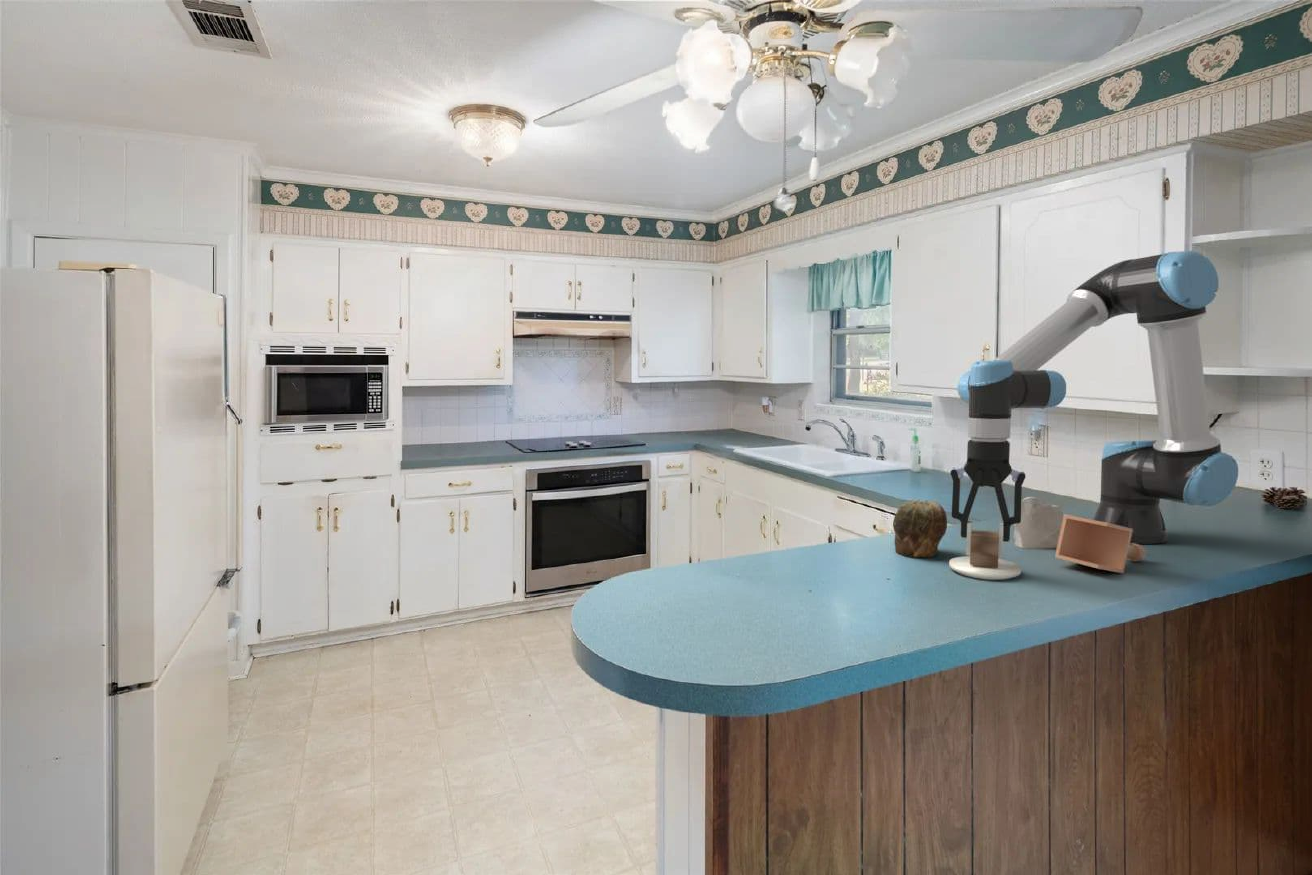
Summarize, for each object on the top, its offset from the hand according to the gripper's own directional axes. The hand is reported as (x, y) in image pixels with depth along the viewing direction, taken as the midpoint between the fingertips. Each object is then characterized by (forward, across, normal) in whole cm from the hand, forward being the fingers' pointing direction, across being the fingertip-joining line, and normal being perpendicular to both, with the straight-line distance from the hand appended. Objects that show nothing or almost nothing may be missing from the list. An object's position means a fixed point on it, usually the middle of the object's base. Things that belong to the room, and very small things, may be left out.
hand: (984, 555), depth 139 cm
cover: (-3, -17, -8) cm, 19 cm away
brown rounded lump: (+4, +13, -9) cm, 16 cm away
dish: (+3, 0, 0) cm, 3 cm away
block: (+2, 0, 0) cm, 2 cm away
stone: (+3, -10, -27) cm, 29 cm away
